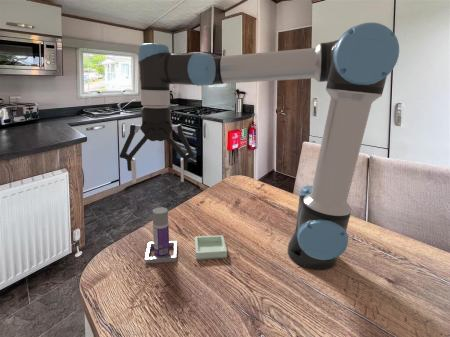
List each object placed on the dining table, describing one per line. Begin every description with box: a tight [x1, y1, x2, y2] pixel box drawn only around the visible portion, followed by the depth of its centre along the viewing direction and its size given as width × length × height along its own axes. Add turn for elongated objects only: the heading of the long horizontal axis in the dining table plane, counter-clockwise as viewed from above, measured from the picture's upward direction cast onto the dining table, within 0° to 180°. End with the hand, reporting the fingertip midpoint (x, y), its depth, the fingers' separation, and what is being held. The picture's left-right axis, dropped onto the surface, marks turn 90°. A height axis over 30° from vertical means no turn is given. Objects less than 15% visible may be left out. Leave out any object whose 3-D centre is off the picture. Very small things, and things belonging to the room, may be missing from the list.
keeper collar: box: [144, 240, 178, 264], centre depth 89 cm, size 9×9×2 cm
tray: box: [194, 234, 228, 261], centre depth 91 cm, size 10×10×2 cm
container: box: [152, 206, 170, 257], centre depth 87 cm, size 5×5×15 cm
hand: (158, 181), depth 82 cm, fingers open, 13 cm apart
